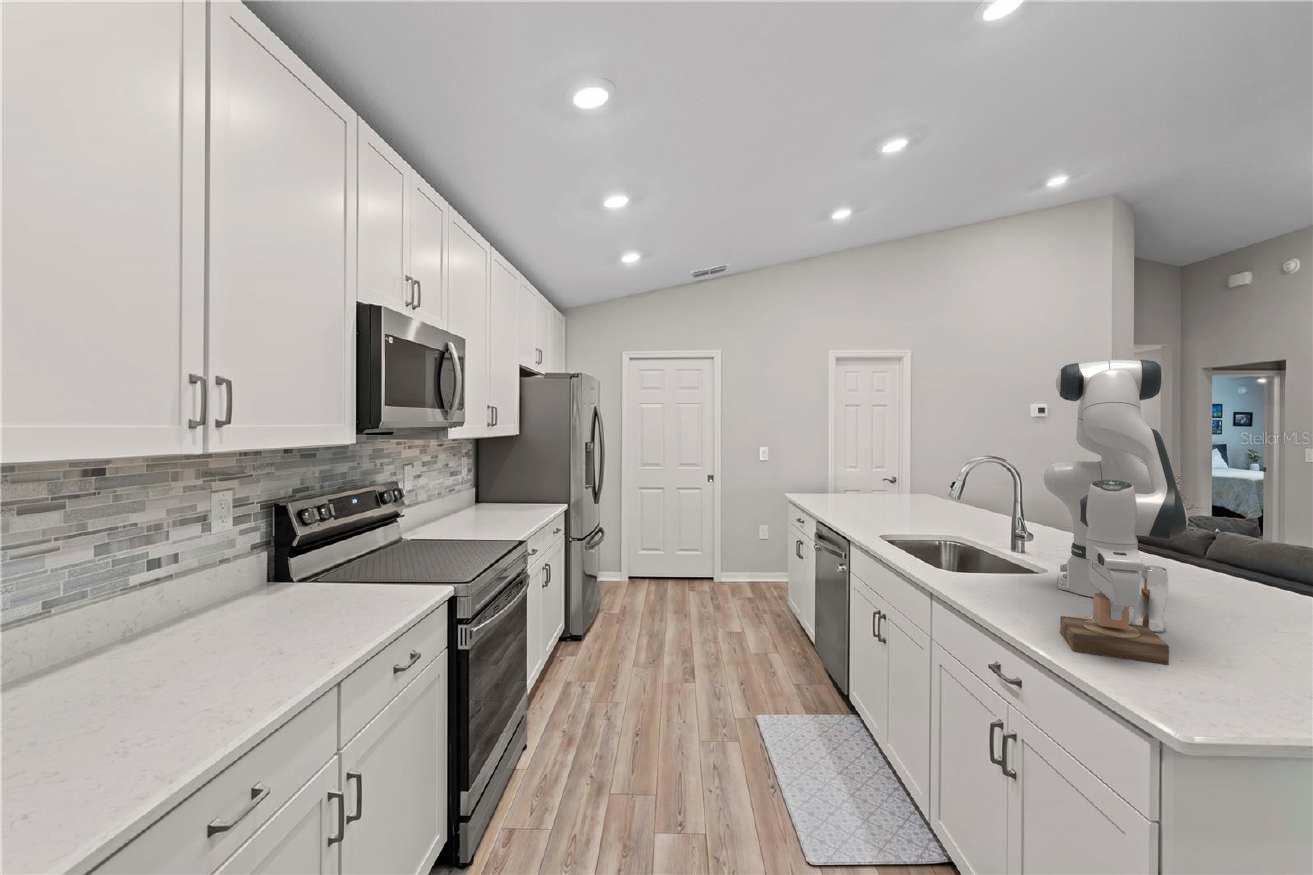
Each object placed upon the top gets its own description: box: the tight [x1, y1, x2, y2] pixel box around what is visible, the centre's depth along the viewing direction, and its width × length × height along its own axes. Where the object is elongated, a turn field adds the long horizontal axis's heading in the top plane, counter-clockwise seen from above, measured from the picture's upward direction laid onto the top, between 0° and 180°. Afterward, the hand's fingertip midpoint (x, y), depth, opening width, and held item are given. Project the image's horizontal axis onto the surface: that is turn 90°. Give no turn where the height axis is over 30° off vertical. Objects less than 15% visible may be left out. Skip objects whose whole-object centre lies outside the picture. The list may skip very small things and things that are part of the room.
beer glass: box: [1131, 563, 1169, 633], centre depth 131 cm, size 7×7×15 cm
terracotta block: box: [1092, 593, 1130, 629], centre depth 120 cm, size 5×5×6 cm
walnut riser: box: [1059, 615, 1170, 665], centre depth 120 cm, size 12×16×4 cm
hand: (1110, 614), depth 120 cm, fingers closed on terracotta block, 5 cm apart
